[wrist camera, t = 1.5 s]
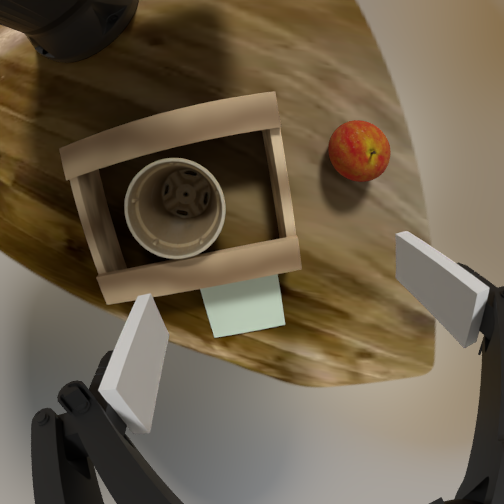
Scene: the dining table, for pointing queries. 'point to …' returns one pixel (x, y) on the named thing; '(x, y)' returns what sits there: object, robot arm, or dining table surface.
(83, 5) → the robot arm
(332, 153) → the fruit
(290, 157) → the dining table surface
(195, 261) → the crate
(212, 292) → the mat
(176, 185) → the flower pot
